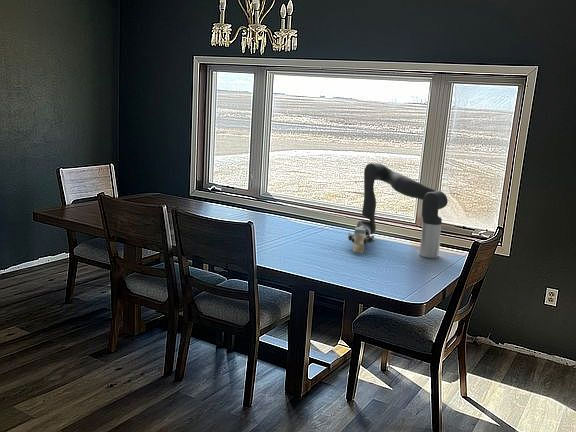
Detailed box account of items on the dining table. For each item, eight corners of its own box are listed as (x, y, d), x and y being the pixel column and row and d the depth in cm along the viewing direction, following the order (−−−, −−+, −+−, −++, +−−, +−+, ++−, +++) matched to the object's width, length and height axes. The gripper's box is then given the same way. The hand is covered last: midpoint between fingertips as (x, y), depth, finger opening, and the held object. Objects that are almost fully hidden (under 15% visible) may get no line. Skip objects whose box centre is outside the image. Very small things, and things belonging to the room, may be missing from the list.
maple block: (363, 250, 303) (365, 228, 300) (362, 253, 298) (364, 230, 295) (354, 249, 304) (356, 227, 301) (352, 252, 299) (354, 229, 296)
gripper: (349, 225, 314) (345, 232, 298) (376, 228, 311) (373, 235, 295) (348, 239, 316) (344, 246, 299) (375, 242, 312) (372, 250, 296)
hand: (358, 241), depth 297 cm, fingers closed on maple block, 5 cm apart
